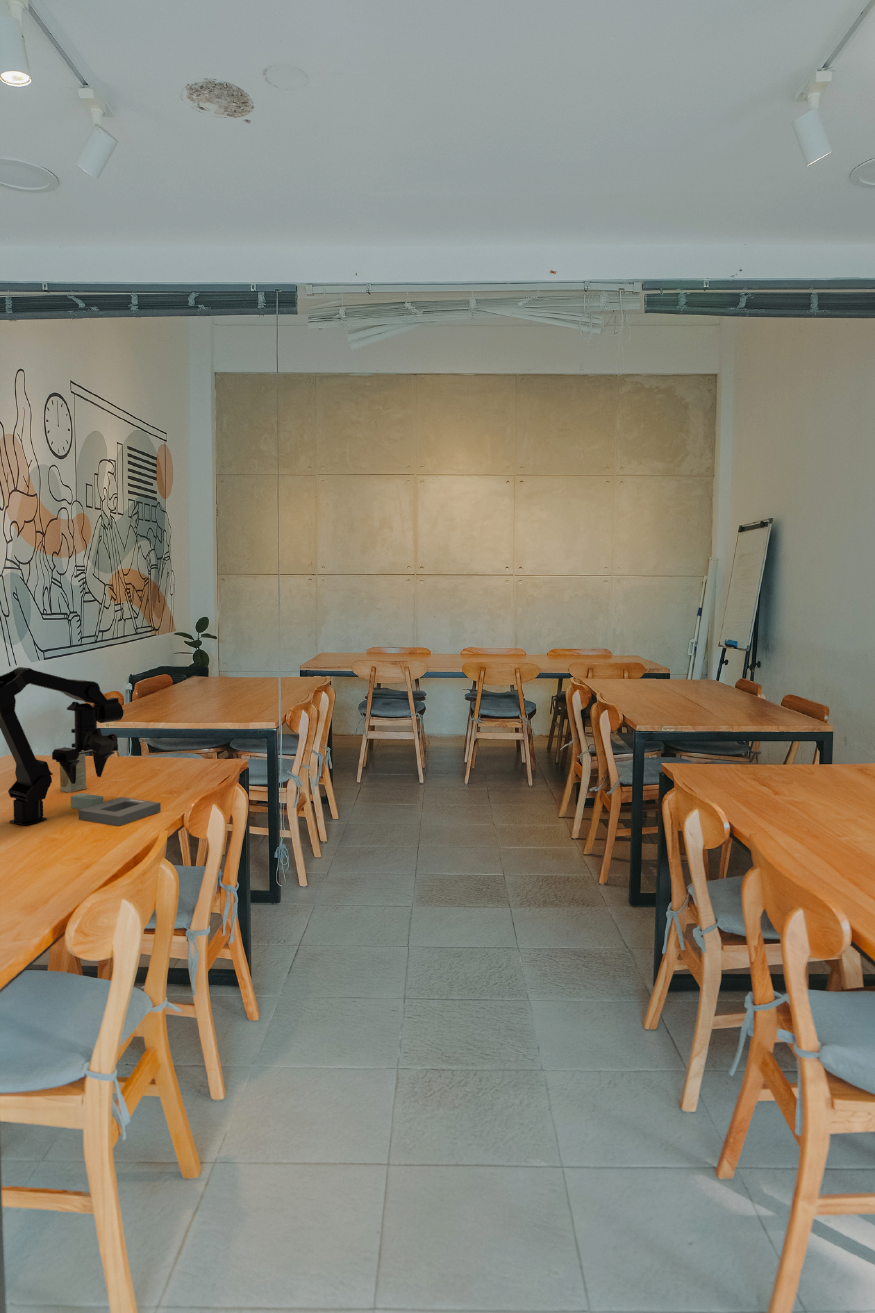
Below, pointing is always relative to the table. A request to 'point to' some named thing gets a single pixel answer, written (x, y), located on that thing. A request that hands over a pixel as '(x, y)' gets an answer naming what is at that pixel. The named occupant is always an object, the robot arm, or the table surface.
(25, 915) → the table surface
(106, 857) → the table surface
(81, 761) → the skincare box
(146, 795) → the table surface
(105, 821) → the socket board
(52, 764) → the table surface
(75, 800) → the key block
